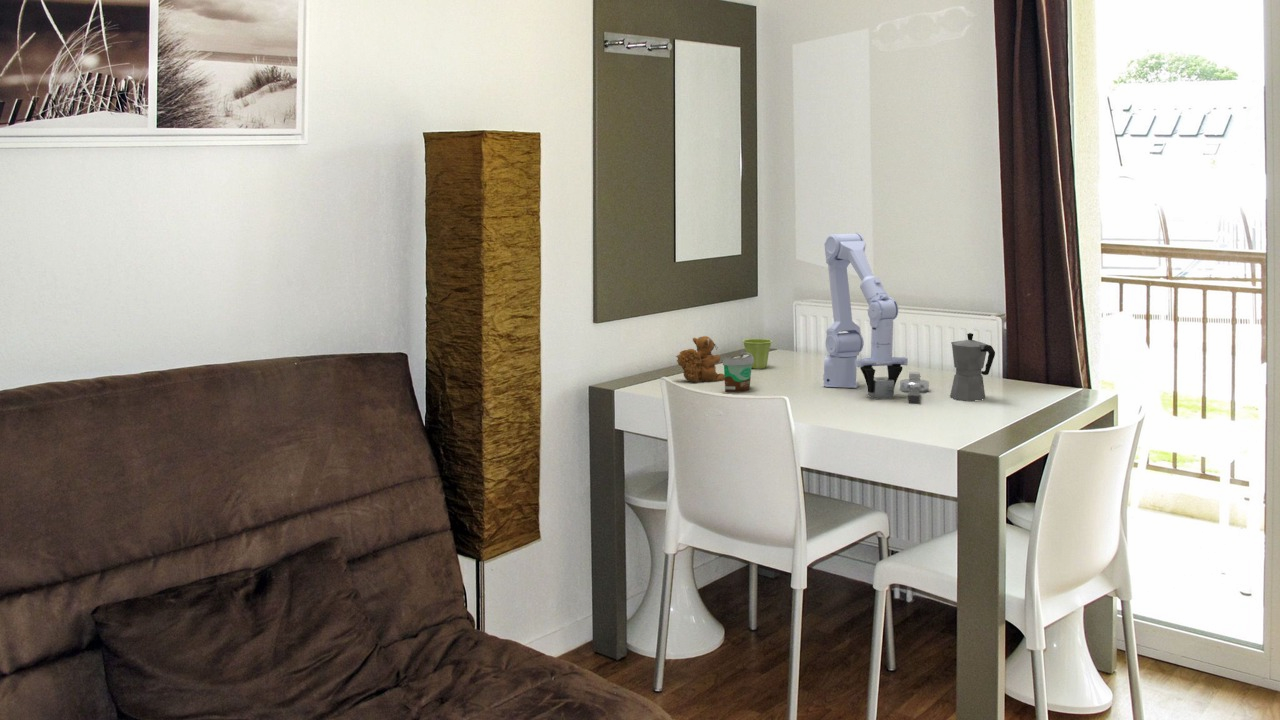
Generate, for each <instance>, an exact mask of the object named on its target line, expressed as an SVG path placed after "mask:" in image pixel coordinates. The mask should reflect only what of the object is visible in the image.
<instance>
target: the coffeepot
mask: <svg viewBox="0 0 1280 720" xmlns="http://www.w3.org/2000/svg"><path fill="white" fill-rule="evenodd" d="M966 335H967V339H964V340H957V341H951V348H952V356H953V365H954V368H955V374H954V377H953V380H952V381H953V382H952V385H951V391H950V394H949V397H950V398H951V399H952V398H953V399H952V400H955V399H956V401H960V400H963V401H962V402H976V401H975V400H981V401H983V400H982V399H986V393H985V385H984V383H985V382H984V378H983V376H987V375H989V373H990V371H991V367H992V364H993V362H994V359H995V355H996V352H995V350H994V347H993V346H992V345H990V344H986V343H985V342H981V341H978V340H973V338H974V333H972V332H969V333H966ZM987 353H988V356H986V355H987ZM986 357H987V359H986ZM986 360H987V361H986ZM985 362H986V364H985ZM984 365H985V366H984ZM984 367H985V370H982V369H984Z"/></svg>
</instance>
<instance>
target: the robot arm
mask: <svg viewBox="0 0 1280 720" xmlns="http://www.w3.org/2000/svg"><path fill="white" fill-rule="evenodd" d="M864 239H865V238H864V236H863V235H862V234H861V233H858V232H855V233H838V234H835V233H831V234H829V235H828V236H827V238H826V240H825V242H824V255H825V263H826V264H827V267H828V268H827V269H828V275H829V277H828V278H829V279H828V280H829V287H830V296H831V307H832V317H833V323H832V324H831V325H830V326H829V327H828V328H827V329H826V330H825V331H826V332H825V333H826V340H825V349H826V350H827V352H828V355H824V362H823V363H824V364H823V375H822V377H823V378H822V379H823V387H824V386H825V387H824V388H847V389H849V388H850V389H851V388H853V389H857V388H858V387H859V386H858V385H859V381H857V374H858V373H857V369H858V368H859V369H860V370H861V373H862V375H863V378H864V381H865V384H866V389H867V393H868V392H870V393H873V381H874V377H875V373H876V369H874V367H885V366H886V368H887V377H888V378H890V379H893V380H894V388H895V386H896V383H897V381H898V378H899V376H900V375H901V372H902V371H903V366H908V358H907V357H904V356H903V357H902V356H901V357H899V356H898V357H897V356H894V357H893V342H894V341H893V340H894V320H895V319H896V318H897V317H898V315H899V306H898V305H899V304H898V303H897V300H896V299H894V298H892V297H891V296H890V295H888V294H887V291H886V290H885V288H884V286H883V283H882V281H881V279H880V278H879V277H877V276H874V274H873V272H872V269H871V267H870V264H869V262H868V259H867V256H866V254H865V251H866V245H867V244H866V242H865V240H864ZM850 264H851V265H852V267H853V269H854V271H855V273H856V274H857V275H858V277H859V279H860V281H861V283H860V286H859V287H860V288H859V289H860V291H861V292H862V294H863V296H864V299H865V300H866V303H867V305H868V309H867V316H868V318H869V325H870V327H871V343H870V344H871V345H870V346H871V347H870V357H867V358H859V359H858V356H860V352H862V351H863V349H864V345H865V344H864V338H863V335H862V333H861V327H860V325H858V324H856V323H855V322H854V321H853V315H852V314H853V313H852V304H851V296H850V286H849V285H850V284H849V277H848V266H849V265H850Z"/></svg>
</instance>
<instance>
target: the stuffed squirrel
mask: <svg viewBox="0 0 1280 720" xmlns="http://www.w3.org/2000/svg"><path fill="white" fill-rule="evenodd" d="M692 342H693V344H694V345H695V346H696V350H695V349H694V348H687V349H684V350H681V351H680V352H679V353H678V354H677V355H675V357H676V358H677V359H676V362H677V364H678V366H680V367H681V369H682V370H683V373H682V374H683V377H684V379H685V380H687V381H688V382H691V383H699V382H720V381H725V377H724V373H718V372H717V370H716V369H717V367H716V364H718V363H720V360H721V357H720V355H719V354H716V355H713V354H712V351H713V350H714V348H715V350H716V351H717V350H718V349H719V348H718V346H717V345H716V343H715V342H714V340H713V339H712V338H711V337H709V336H706V335H704V336H700V337H698V338H696V337H693V338H692Z"/></svg>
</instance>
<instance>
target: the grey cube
mask: <svg viewBox="0 0 1280 720" xmlns="http://www.w3.org/2000/svg"><path fill="white" fill-rule="evenodd" d="M868 395H869V397H870V396H871V397H870V398H872V397H873V398H872V399H874V398H875V399H874V400H883V399H882V398H885V399H894V397H895V387H894V380H893V379H890V378H888V376H876V377H875V376H874V381H873V393H870V392H868V391H867V396H868Z"/></svg>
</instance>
